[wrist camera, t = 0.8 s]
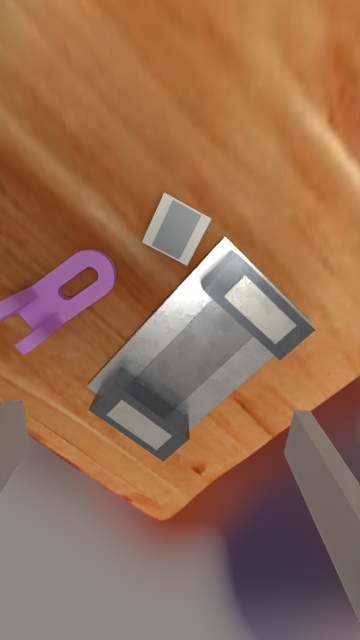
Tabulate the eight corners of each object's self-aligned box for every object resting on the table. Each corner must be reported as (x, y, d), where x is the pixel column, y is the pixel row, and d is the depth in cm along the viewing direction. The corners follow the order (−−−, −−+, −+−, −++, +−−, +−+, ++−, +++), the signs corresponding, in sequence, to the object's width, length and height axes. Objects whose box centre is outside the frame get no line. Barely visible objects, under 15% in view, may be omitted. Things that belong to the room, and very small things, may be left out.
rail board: (88, 382, 39) (75, 406, 34) (223, 236, 32) (231, 239, 27) (170, 441, 42) (169, 470, 37) (307, 320, 35) (328, 336, 30)
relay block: (147, 238, 32) (141, 242, 27) (166, 196, 31) (164, 192, 26) (186, 259, 33) (187, 266, 28) (206, 218, 32) (211, 218, 27)
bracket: (46, 334, 36) (17, 359, 30) (15, 299, 35) (-23, 318, 28) (126, 279, 34) (113, 293, 27) (96, 239, 32) (75, 244, 26)
